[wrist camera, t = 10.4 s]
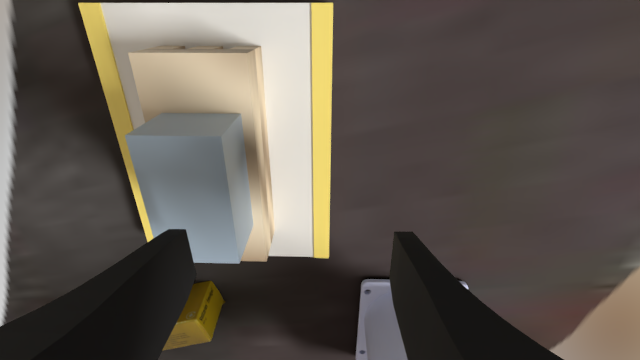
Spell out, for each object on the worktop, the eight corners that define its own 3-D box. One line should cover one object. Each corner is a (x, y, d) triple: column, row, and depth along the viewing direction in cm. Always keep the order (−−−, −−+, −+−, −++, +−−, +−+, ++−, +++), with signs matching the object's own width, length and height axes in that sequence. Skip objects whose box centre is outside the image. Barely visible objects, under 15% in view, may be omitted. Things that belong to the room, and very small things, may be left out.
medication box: (102, 325, 29) (71, 369, 26) (84, 304, 28) (49, 347, 25) (227, 300, 28) (212, 344, 24) (213, 277, 26) (195, 319, 23)
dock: (329, 238, 24) (329, 258, 22) (165, 235, 24) (151, 254, 22) (332, 3, 17) (333, 2, 15) (105, 3, 18) (78, 2, 16)
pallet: (274, 230, 21) (266, 261, 19) (197, 228, 22) (178, 259, 19) (260, 46, 16) (247, 53, 14) (160, 45, 17) (127, 52, 14)
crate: (253, 225, 18) (239, 263, 15) (186, 223, 18) (160, 261, 15) (241, 113, 15) (221, 136, 12) (161, 112, 15) (124, 135, 12)
